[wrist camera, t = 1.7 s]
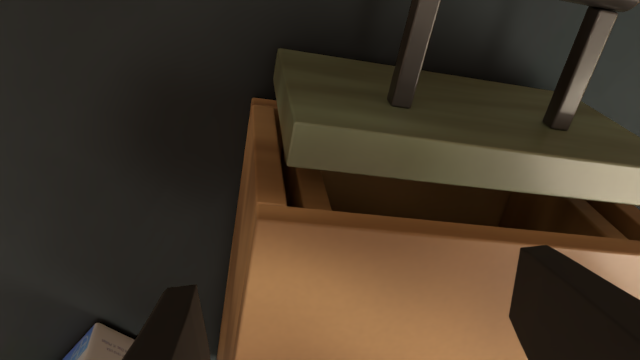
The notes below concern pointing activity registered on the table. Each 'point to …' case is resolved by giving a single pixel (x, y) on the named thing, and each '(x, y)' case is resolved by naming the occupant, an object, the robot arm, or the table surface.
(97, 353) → the medicine box
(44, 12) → the table surface
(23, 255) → the table surface
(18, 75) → the table surface
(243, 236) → the cabinet
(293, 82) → the drawer
